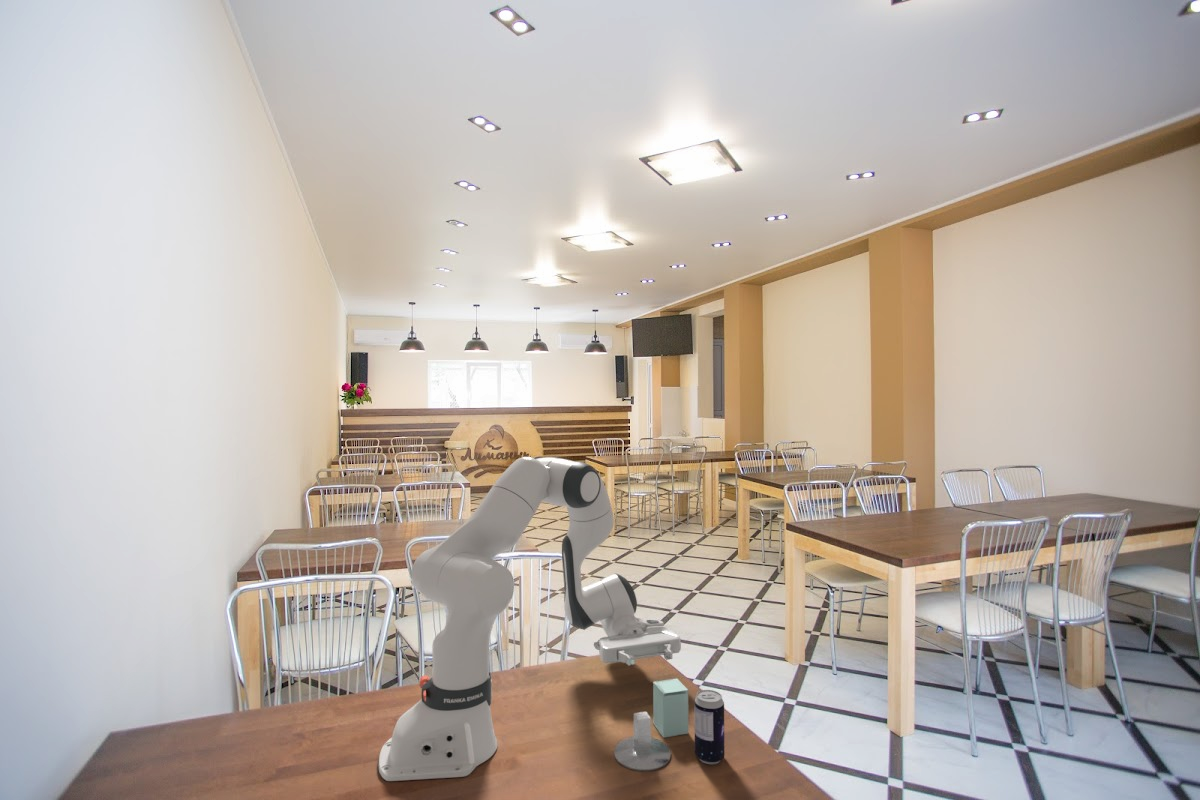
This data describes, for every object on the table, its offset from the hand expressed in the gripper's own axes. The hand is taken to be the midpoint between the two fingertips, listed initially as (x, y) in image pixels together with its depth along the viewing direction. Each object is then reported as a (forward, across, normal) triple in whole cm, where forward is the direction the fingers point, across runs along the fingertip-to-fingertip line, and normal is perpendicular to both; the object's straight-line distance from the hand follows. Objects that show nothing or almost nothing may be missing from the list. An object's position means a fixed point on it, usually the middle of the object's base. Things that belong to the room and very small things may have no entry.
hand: (650, 659), depth 138 cm
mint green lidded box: (+12, -1, +10) cm, 16 cm away
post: (+19, -10, +9) cm, 24 cm away
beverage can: (+24, +2, +10) cm, 26 cm away
